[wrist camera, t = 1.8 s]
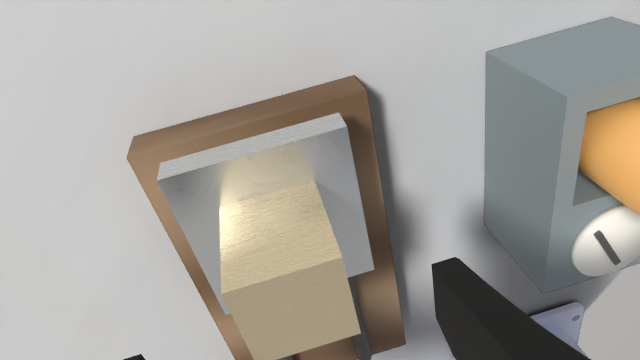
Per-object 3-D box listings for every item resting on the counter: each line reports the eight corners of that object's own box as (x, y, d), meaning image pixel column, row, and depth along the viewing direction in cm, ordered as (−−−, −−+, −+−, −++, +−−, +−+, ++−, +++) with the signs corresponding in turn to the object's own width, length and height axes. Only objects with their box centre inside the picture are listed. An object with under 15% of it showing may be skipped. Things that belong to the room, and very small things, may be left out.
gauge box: (581, 194, 21) (669, 265, 17) (484, 224, 21) (549, 302, 17) (610, 16, 16) (742, 55, 12) (486, 51, 16) (577, 103, 12)
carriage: (366, 251, 17) (409, 350, 13) (224, 294, 17) (228, 408, 13) (338, 112, 14) (386, 193, 10) (160, 162, 13) (139, 265, 9)
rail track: (395, 320, 23) (410, 356, 22) (250, 366, 23) (254, 406, 21) (354, 75, 16) (372, 98, 14) (133, 136, 15) (122, 168, 13)
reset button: (608, 139, 17) (735, 216, 13) (536, 160, 17) (641, 245, 13) (622, 65, 15) (773, 126, 11) (542, 88, 15) (666, 159, 11)
